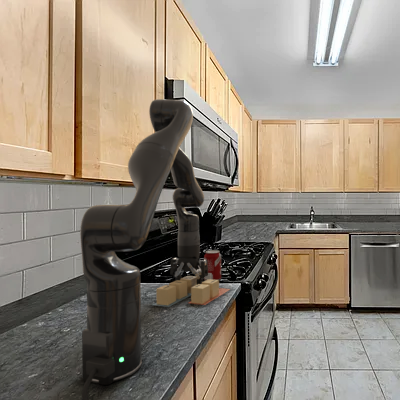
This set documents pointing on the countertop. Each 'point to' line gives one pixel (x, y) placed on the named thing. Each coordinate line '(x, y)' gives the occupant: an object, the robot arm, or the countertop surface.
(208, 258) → the soda can
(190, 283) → the small cardboard box
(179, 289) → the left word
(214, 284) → the wooden blocks on tray
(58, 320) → the countertop surface
